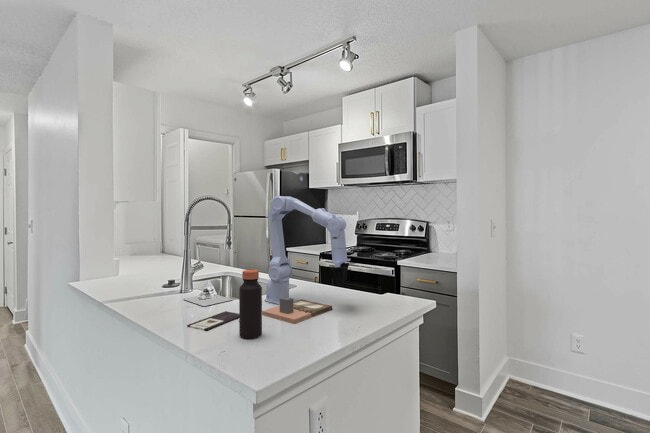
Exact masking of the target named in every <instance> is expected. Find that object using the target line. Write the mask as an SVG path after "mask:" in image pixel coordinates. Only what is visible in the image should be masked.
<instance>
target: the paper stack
mask: <svg viewBox="0 0 650 433" xmlns="http://www.w3.org/2000/svg"><path fill="white" fill-rule="evenodd" d="M216 295H217V297H216V298H213V299H206V300H199V299H198V296H199V295H196V296H192V297H191V296H190V297H186V298H183V300H184V301H187V302H190V303H193V304H196V305H199V306H201V307H202V306H203V307H206V306H210V305H216V304H221V303H224V302H229V301H233V300H234V299H233V298H230V297H226V296H223V295H219V294H216ZM193 307H194V306H192V308H193ZM186 308H187V309H188V308H190V306H186Z"/></svg>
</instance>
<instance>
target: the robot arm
mask: <svg viewBox="0 0 650 433" xmlns="http://www.w3.org/2000/svg"><path fill="white" fill-rule="evenodd" d="M269 206H270V207H269V212H268V214H267V219H268V230H269V238H270V245H271V246H270V247H271V255H272V259H271V260H270V261H269V268H268V273H267V274H268V276H269V277H268V278H269V280H267V283H266V287H265V288H266V290H265V291H266V292H265V294H266V298H265V299H264V301H265V302H268V303H273V304H276V305H280V298H283V297H289V298H290V277H291V276H292V273H293V267H292V265H291V264H290V259H289V258H288V257H287V256H286V246H285V238H284V231H283V230H284V229H283V221H282V219H284V217H285V216H286V215H287V214H289V213H290V212H292V211H294V210H297V212H298V211H299V212H300V213H303V214H305V215H307V216H309V217H311V219H312V221H313V222H314V223H316V224H317V225H318V224H319V225H320V226H322V227H324V228H325V229H327V230H328V232H329V236H330V248H331V262H332V264H333V266H331V267H330V270H331V272H332V274H333V275H334V279H335V281H336V282H335V283H336V284H337V286H339V287H341V286H344V284H345V283H347V277H348V269H349V266H350V261H351V258H348V255H347V254H348V253H347V244H346V243H347V242H346V232H345V229H346V227H347V222H346V220H345V219H344V218H343V217H342V216H337V215H336V214H335V213H330V212H328V211H326V210H327V209H326V208H323V207H322V208H317V209H315V208H314V207H312V206H310V205H308V204H306V203H305V202H303V201H301V200H300V199H298V198H296V197H292V196H290V195H289V196H288V195H287V196H284V195H283V196H281V195H276V196H274V197H272V199H271V201H269ZM293 301H295V300H294V299H293Z"/></svg>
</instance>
